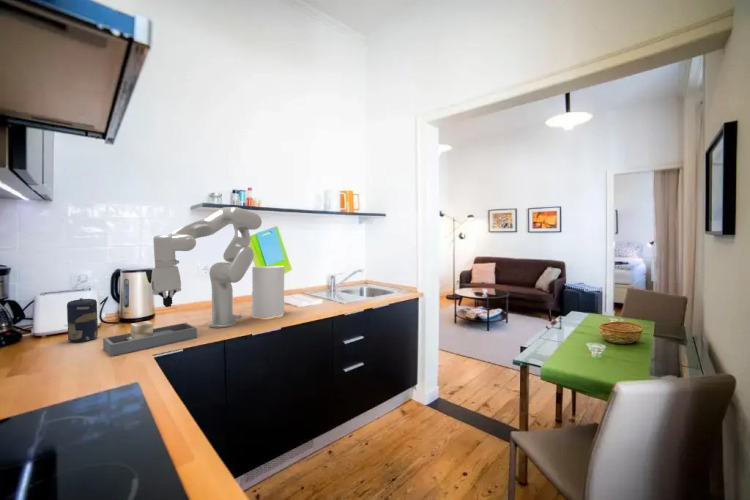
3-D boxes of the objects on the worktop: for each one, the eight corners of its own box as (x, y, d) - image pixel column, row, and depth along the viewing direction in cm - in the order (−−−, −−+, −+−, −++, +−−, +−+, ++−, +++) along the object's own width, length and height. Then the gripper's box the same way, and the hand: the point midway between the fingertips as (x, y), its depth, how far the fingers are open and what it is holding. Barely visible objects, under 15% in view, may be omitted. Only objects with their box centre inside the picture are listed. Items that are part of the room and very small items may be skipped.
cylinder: (288, 316, 182) (288, 267, 180) (256, 321, 172) (256, 268, 171) (278, 310, 196) (278, 264, 195) (248, 314, 186) (248, 265, 185)
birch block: (148, 334, 137) (148, 320, 136) (153, 337, 133) (152, 323, 133) (130, 338, 132) (130, 323, 132) (135, 341, 128) (135, 326, 128)
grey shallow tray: (186, 332, 151) (185, 322, 151) (196, 337, 143) (196, 327, 143) (103, 349, 128) (103, 337, 128) (110, 356, 120) (110, 344, 120)
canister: (97, 334, 145) (96, 295, 144) (99, 340, 138) (98, 298, 137) (67, 339, 138) (66, 297, 137) (68, 345, 131) (66, 301, 131)
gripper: (181, 261, 146) (183, 301, 148) (141, 265, 135) (144, 308, 136) (188, 263, 141) (190, 304, 143) (147, 266, 130) (150, 311, 131)
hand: (167, 306), depth 139 cm, fingers closed
